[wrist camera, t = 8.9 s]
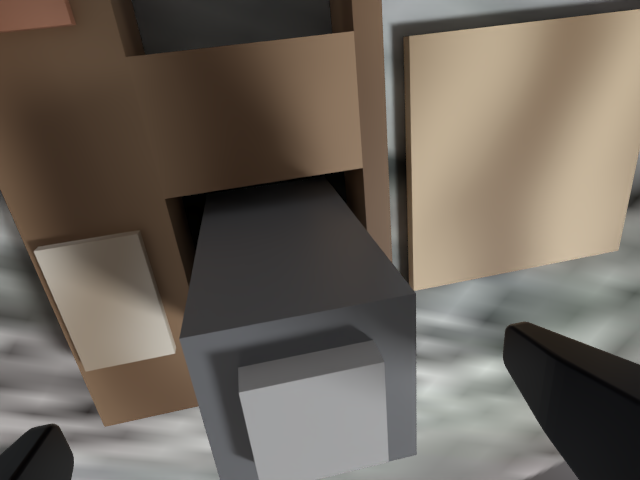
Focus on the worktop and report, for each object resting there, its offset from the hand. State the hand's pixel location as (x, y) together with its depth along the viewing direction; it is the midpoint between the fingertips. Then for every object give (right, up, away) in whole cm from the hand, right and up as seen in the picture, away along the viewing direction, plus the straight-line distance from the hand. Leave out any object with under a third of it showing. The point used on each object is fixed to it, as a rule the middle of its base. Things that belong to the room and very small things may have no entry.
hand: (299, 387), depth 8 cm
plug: (-1, +3, +7) cm, 7 cm away
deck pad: (+8, +6, +7) cm, 12 cm away
